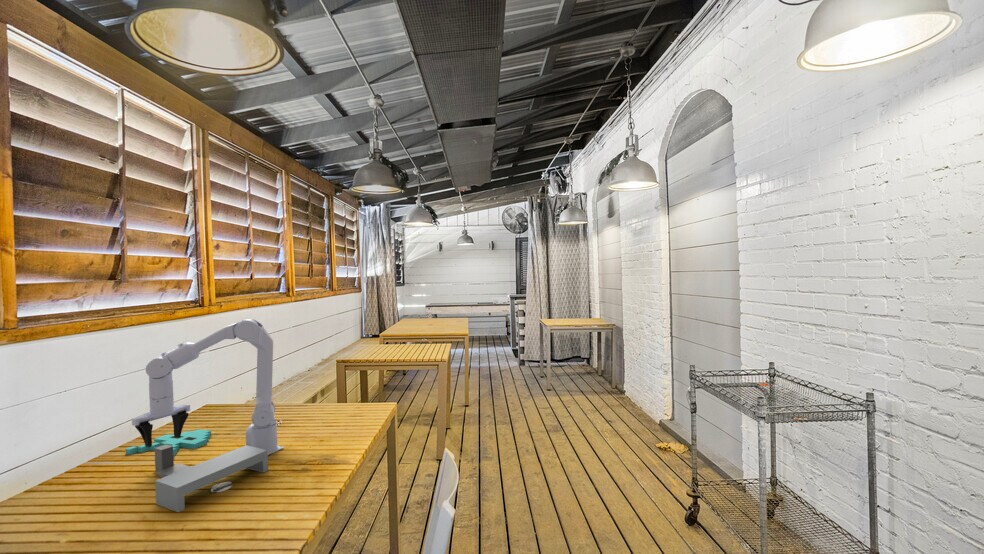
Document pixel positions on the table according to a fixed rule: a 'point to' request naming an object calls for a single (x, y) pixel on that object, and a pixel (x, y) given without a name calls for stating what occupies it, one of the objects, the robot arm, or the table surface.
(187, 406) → the robot arm
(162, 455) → the scraper
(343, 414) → the table surface
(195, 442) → the alien figure
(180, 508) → the grey bench
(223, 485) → the steel disc
